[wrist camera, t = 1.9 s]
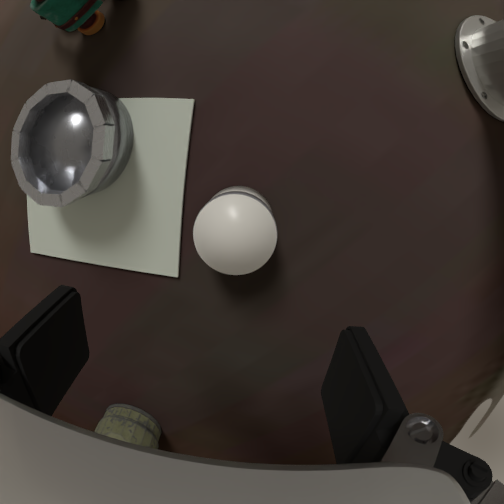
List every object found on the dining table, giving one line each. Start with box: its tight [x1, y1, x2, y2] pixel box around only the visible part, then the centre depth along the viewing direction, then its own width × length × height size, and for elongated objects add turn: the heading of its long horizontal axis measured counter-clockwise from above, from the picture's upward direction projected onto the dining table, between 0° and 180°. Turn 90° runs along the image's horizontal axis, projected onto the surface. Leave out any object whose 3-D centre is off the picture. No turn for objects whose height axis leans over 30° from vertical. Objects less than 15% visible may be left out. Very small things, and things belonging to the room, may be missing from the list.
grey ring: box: [11, 80, 134, 207], centre depth 21 cm, size 10×10×6 cm
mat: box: [27, 98, 195, 277], centre depth 25 cm, size 18×16×1 cm
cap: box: [193, 186, 277, 275], centre depth 24 cm, size 6×6×5 cm
